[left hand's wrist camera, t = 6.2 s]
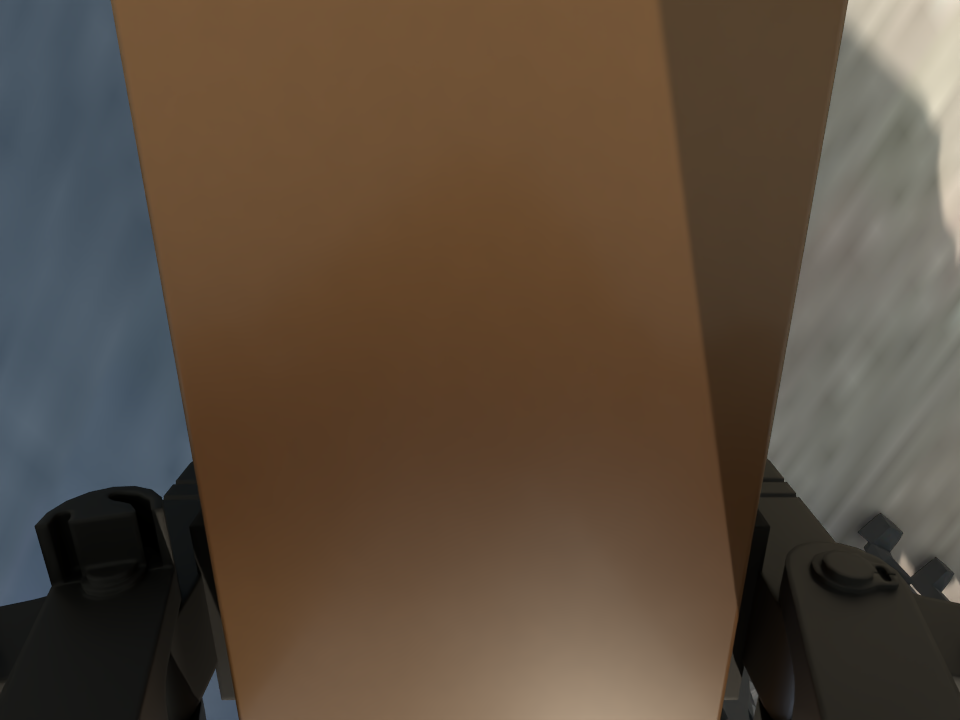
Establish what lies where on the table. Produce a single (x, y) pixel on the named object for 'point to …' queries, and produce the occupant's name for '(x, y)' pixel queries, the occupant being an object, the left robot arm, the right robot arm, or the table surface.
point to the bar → (479, 334)
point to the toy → (880, 543)
